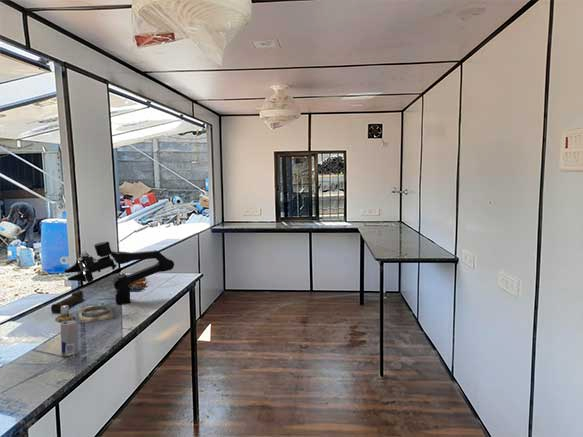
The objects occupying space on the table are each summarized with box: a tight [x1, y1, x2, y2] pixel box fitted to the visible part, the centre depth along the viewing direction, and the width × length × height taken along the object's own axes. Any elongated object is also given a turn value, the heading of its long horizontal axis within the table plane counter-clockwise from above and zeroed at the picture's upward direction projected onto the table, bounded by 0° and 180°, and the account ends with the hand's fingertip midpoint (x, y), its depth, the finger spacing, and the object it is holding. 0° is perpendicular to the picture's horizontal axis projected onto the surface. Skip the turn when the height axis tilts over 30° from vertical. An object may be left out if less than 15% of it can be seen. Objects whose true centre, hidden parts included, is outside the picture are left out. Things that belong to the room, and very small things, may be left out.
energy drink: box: [60, 319, 79, 357], centre depth 143 cm, size 5×5×12 cm
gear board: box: [77, 301, 115, 324], centre depth 185 cm, size 14×20×3 cm
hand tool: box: [50, 290, 84, 314], centre depth 197 cm, size 23×5×6 cm, turn 176°
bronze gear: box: [54, 305, 76, 323], centre depth 178 cm, size 8×8×6 cm
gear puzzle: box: [114, 277, 149, 293], centre depth 238 cm, size 31×16×4 cm, turn 6°
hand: (66, 275), depth 188 cm, fingers open, 9 cm apart
